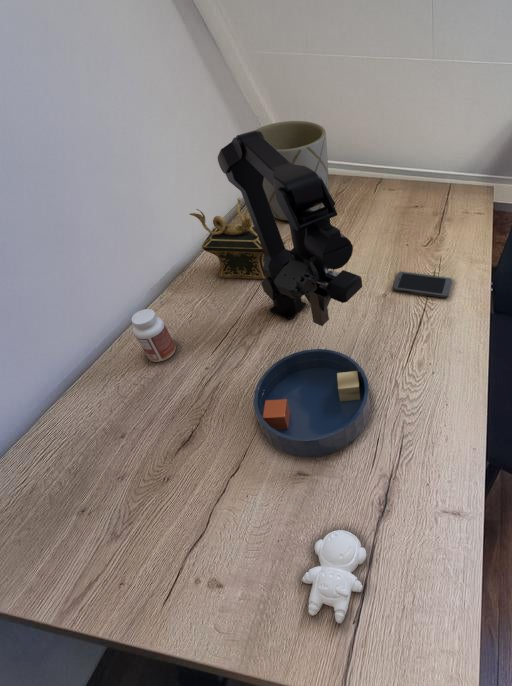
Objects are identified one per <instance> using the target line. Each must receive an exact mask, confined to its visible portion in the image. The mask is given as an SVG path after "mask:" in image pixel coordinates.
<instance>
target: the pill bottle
mask: <svg viewBox="0 0 512 686" xmlns="http://www.w3.org/2000/svg"><path fill="white" fill-rule="evenodd" d="M131 323H132V325H133V329H132V330H133V334H134V336H135V338H136V340H137V341H138V343H139V345H140V347H141V349H142V350H143V352H144V354H145V356H146V357H147V359H148V360H149V361H151V362H155V363H160V362H164V361H166V360H168V359H170V358H171V357H172V356H173V355H174V353H176V344H175V342H174V340H173V338H172V336H171V334H170V332H169V331H168V328H167V325H166V323H165V322H164V320H163V319H162V318H160V317H158V316H157V314H156V312H155V311H154V310H153V309H150V308H144V309H141V310H138V311H136V312H135V313H134V314H133V315H132V316H131Z"/></svg>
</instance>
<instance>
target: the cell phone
mask: <svg viewBox="0 0 512 686" xmlns="http://www.w3.org/2000/svg"><path fill="white" fill-rule="evenodd" d="M452 283H453V279H452V278H451V277H445V276H437V275H429V274H422V273H414V272H408V271H400V272H398V273H397V275H396V278H395V281H394V284H393V286H392V290H393V291H394V292H400V293H406V294H414V295H415V294H416V295H421V296H427V297H435V298H440V299H441V298H442V299H447V298H449V295H450V290H451V287H452Z"/></svg>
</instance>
